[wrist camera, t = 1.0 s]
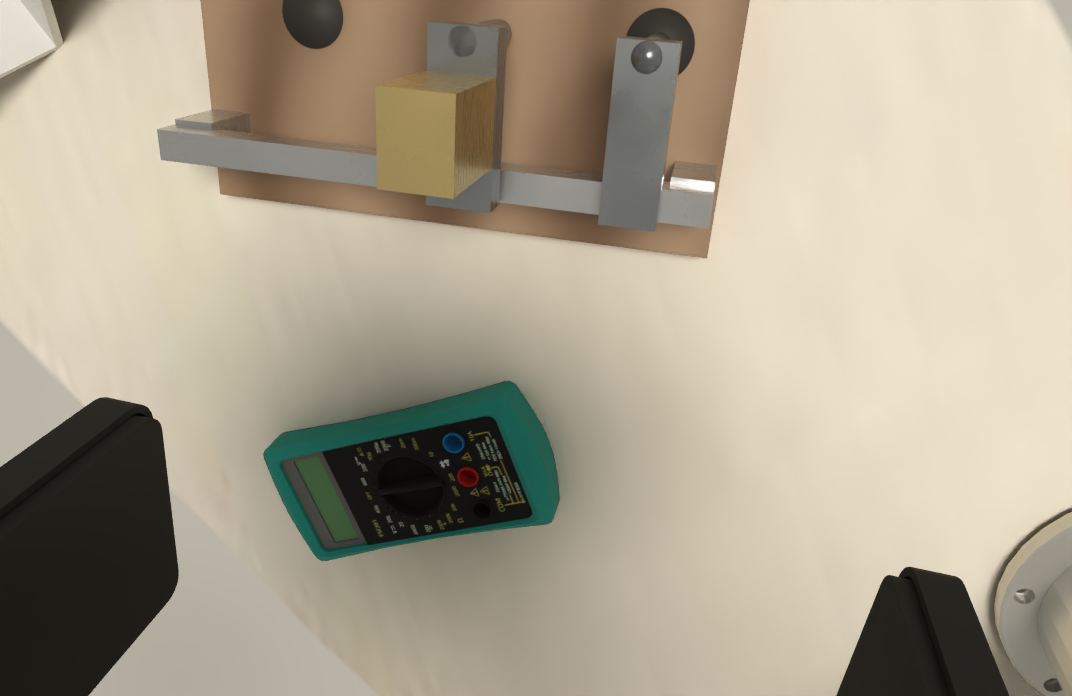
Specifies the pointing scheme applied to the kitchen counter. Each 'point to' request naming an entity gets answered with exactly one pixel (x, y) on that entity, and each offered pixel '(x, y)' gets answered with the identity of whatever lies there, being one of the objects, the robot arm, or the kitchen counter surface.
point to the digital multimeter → (418, 473)
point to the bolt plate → (528, 120)
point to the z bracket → (26, 33)
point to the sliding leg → (447, 119)
